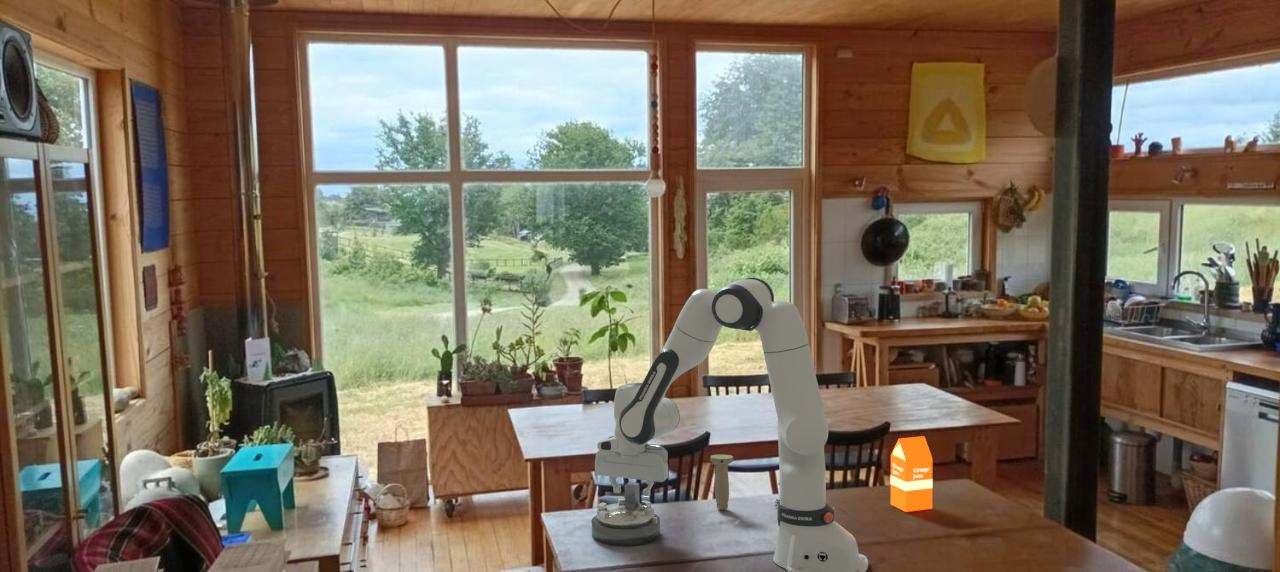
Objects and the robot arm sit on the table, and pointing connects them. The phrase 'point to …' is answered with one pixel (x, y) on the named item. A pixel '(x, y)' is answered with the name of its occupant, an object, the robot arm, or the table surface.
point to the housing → (626, 533)
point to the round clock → (626, 510)
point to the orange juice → (911, 475)
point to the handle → (722, 479)
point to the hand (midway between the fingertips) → (631, 494)
